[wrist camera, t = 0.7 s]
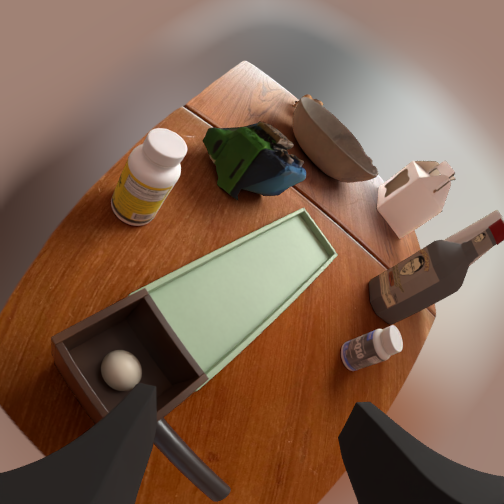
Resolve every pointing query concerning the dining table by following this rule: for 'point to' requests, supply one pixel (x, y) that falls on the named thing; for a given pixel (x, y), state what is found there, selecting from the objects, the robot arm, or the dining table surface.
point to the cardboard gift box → (414, 195)
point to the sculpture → (253, 159)
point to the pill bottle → (371, 348)
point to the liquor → (428, 275)
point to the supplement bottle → (148, 177)
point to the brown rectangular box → (153, 373)
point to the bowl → (330, 143)
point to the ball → (121, 370)
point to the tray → (241, 288)
